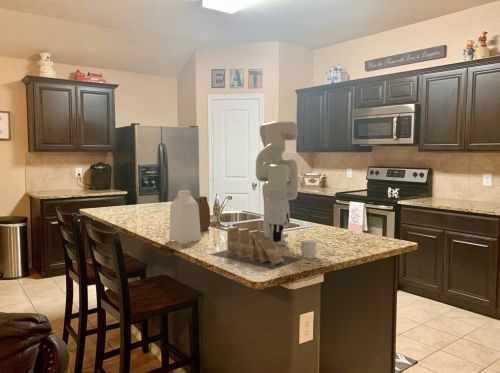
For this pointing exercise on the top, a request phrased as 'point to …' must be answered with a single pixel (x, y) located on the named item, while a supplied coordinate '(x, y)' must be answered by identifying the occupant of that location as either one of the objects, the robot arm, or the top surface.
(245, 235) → the domino
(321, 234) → the top surface
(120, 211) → the top surface
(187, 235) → the milk
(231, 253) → the end domino
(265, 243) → the domino
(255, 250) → the domino
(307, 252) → the shot glass
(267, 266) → the mat
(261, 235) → the domino
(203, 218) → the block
